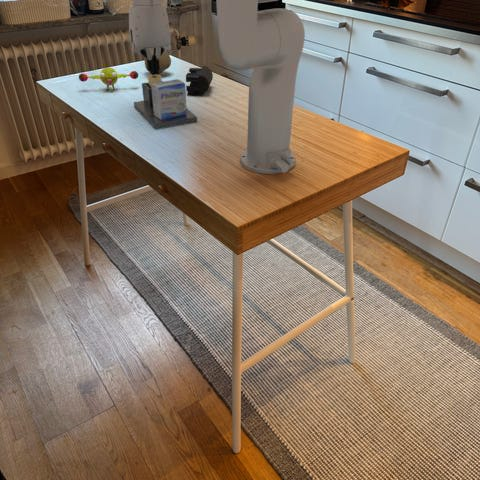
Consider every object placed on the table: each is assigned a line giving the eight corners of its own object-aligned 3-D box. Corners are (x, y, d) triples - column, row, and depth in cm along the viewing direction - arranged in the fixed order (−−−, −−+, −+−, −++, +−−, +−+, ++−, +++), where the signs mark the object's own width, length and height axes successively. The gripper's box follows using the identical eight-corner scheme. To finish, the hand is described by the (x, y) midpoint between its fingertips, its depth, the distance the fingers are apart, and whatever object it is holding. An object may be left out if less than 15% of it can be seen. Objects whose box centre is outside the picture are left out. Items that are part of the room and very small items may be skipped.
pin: (164, 94, 127) (162, 76, 124) (152, 96, 126) (150, 78, 123) (160, 91, 130) (158, 73, 127) (148, 92, 128) (146, 75, 125)
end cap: (209, 97, 138) (208, 75, 134) (186, 96, 138) (185, 74, 134) (213, 87, 146) (212, 65, 142) (191, 86, 146) (190, 65, 142)
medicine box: (160, 120, 118) (157, 87, 113) (153, 115, 121) (150, 82, 116) (187, 115, 122) (185, 82, 117) (179, 110, 125) (177, 78, 120)
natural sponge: (174, 71, 159) (172, 41, 153) (168, 79, 152) (166, 48, 146) (149, 70, 159) (146, 40, 153) (142, 78, 152) (139, 47, 146)
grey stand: (197, 122, 122) (196, 98, 118) (154, 129, 117) (152, 105, 113) (173, 101, 134) (171, 79, 131) (134, 107, 130) (131, 84, 126)
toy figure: (80, 94, 138) (76, 71, 134) (81, 88, 142) (77, 66, 138) (140, 91, 141) (137, 69, 137) (139, 85, 146) (137, 64, 142)
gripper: (169, -5, 119) (174, 66, 130) (113, -2, 113) (123, 73, 124) (180, 0, 114) (184, 74, 125) (122, 3, 108) (131, 80, 119)
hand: (153, 73), depth 124 cm, fingers closed
